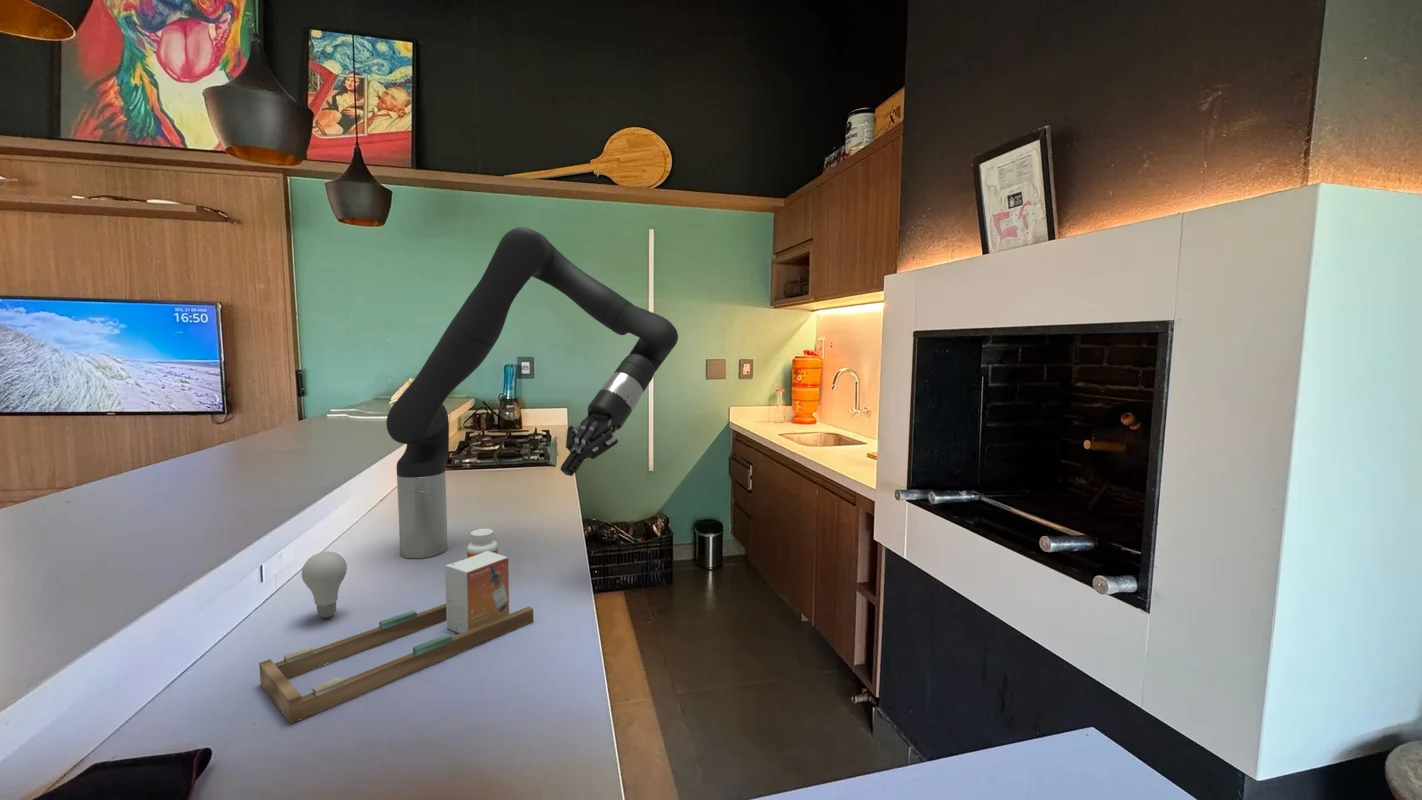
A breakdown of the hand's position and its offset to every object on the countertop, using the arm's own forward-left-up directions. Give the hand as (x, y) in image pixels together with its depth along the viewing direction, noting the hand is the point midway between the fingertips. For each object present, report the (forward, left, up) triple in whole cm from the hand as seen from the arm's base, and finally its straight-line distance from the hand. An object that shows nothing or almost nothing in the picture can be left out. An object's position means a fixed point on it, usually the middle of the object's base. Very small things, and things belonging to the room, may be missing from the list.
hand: (565, 472), depth 105 cm
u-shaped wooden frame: (0, -27, -22) cm, 35 cm away
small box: (0, -17, -22) cm, 28 cm away
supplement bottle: (-15, -8, -22) cm, 28 cm away
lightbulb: (-21, -32, -22) cm, 44 cm away
